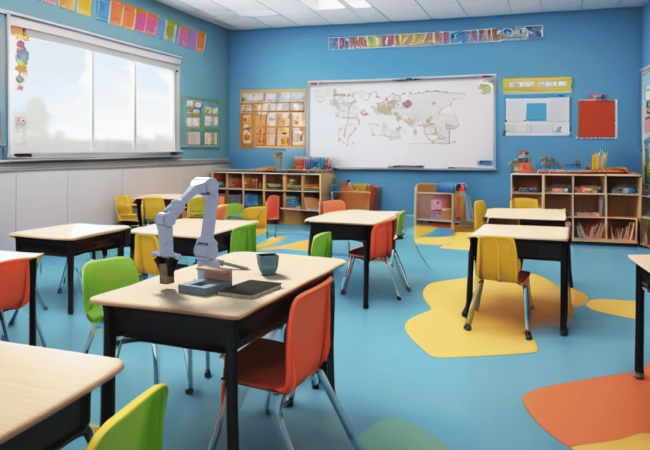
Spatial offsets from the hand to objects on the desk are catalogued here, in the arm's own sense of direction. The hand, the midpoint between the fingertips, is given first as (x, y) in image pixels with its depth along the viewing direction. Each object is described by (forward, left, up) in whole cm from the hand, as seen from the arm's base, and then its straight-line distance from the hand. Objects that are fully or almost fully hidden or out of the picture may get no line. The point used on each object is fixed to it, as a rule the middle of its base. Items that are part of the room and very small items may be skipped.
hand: (166, 275), depth 241 cm
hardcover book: (-14, +31, -6) cm, 35 cm away
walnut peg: (0, 0, -3) cm, 3 cm away
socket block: (-6, +15, -5) cm, 17 cm away
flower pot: (-45, +17, -6) cm, 48 cm away
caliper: (-46, -6, -6) cm, 47 cm away
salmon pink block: (-11, +15, -2) cm, 19 cm away
